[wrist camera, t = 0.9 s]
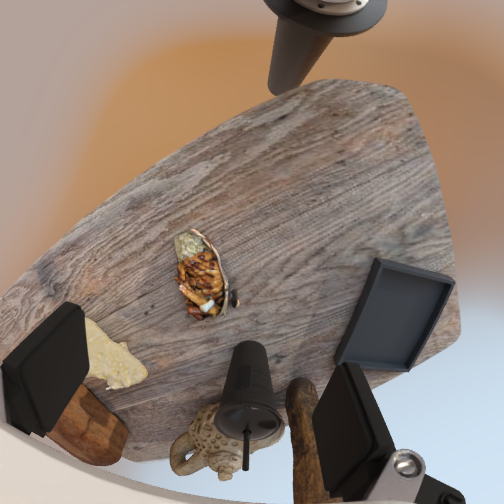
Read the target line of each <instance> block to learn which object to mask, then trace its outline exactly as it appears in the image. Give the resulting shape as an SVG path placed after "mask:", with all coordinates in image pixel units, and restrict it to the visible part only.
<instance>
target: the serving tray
mask: <svg viewBox="0 0 504 504" xmlns="http://www.w3.org/2000/svg"><path fill="white" fill-rule="evenodd" d="M454 285H455V281H454V280H453V279H452V278H451V277H449V276H446V275H442V274H439V273H435V272H431V271H427V270H424V269H420V268H416V267H412V266H408V265H405V264H401V263H397V262H393V261H389V260H385V259H381V258H377V257H376V258H375V260H374V263H373V266H372V269H371V271H370V274H369V277H368V279H367V282H366V284H365V287H364V290H363V292H362V295H361V297H360V300H359V302H358V304H357V307H356V309H355V312H354V314H353V316H352V319H351V321H350V323H349V326H348V328H347V330H346V332H345V335H344V337H343V339H342V341H341V343H340V346H339V348H338V350H337V352H336V354H335V356H334V358H333V359H334V362H335V365H336V366H337V365H341V363H342V362H354V363H359V365H360V367H361V369H363V370H377V371H394V372H409V371H410V369H411V368H412V366H413V365H414V363H415V361H416V360H417V358H418V356H419V355H420V353H421V351H422V349H423V348H424V346H425V344H426V342H427V340H428V339H429V337H430V335H431V333H432V331H433V329H434V327H435V325H436V323H437V321H438V319H439V317H440V315H441V313H442V311H443V309H444V307H445V305H446V303H447V301H448V298H449V296H450V294H451V292H452V289H453V287H454Z"/></svg>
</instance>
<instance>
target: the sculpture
mask: <svg viewBox="0 0 504 504" xmlns="http://www.w3.org/2000/svg"><path fill="white" fill-rule="evenodd" d="M318 402H319V399H318V395H317V391H316V388H315V385H314V384H313V383H312V381H310V380H308V379H305V378H302V377H301V378H296V379H294V380H292V381H291V383H290V384H289V386H288V388H287V392H286V401H285V407H286V412H287V415H288V421H289V427H290V430H291V433H290V434H291V443H292V448H293V498H294V504H327V503H342V502H343V498H342V497H340V498H330V496H329V491H325V489H324V484H323V479H322V473H321V468H320V462H319V457H318V451H317V446H316V441H315V435H314V430H313V425H312V414H313V411H314V409H315V408H316V406H317V404H318Z"/></svg>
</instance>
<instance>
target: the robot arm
mask: <svg viewBox="0 0 504 504" xmlns="http://www.w3.org/2000/svg"><path fill="white" fill-rule="evenodd" d="M294 1H295V2H297V3H298V4H300V5H302V6H303V7H305V8H307V9H310V10H312V11H315V12H318V13H321V14H327V15H336V16H340V15H348V14H352V13H355V12H357V11H359V10H361V9H362V8H363V7H364V6H365V5H366V4H367V2H368V1H369V0H294ZM319 7H320V8H319ZM89 369H90V363H89V355H88V347H87V337H86V326H85V314H84V311H82V310H81V307H80V306H79V305H77V304H74V303H71V302H68V301H66V302H64V303H63V304H62V305H61V306H60V307H59V308H58V309H56V310H55V311H54V312H53V313H52V314H51V315H50V316H49V317H48V318H47V319H45V320H44V321H43V322H42V323H41V324H40V325H39V326H38V327H37V328H36V329H35V330H34V331H33V332H32V333H31V334H29V335H28V336H27V337H26V338H25V339H24V340H23V341H22V342H21V343H20V344H19V345H18V346H17V347H16V348H15V349H14V350H13V351H12V352H11V353H10V354H9V355H8V356H7V357H6V358H5V359H4V360H3V364H2V365H1V366H0V504H265V503H249V502H239V501H229V500H222V499H214V498H208V497H202V496H196V495H191V494H186V493H181V492H176V491H172V490H168V489H163V488H159V487H156V486H152V485H148V484H144V483H141V482H138V481H134V480H131V479H128V478H125V477H122V476H118V475H116V474H113V473H110V472H107V471H105V470H102V469H99V468H97V467H94V466H92V465H89V464H87V463H84V462H82V461H80V460H77V459H75V458H73V457H71V456H68V455H66V454H64V453H62V452H60V451H58V450H56V449H54V448H52V447H50V446H48V445H46V444H44V443H42V442H40V441H38V440H36V439H34V438H32V437H30V436H29V435H30V434H31V432H33V433H35V434H37V435H39V436H41V437H42V438H44V436H45V434H46V433H47V432H48V433H50V432H51V431H52V430H53V428H54V426H55V425H56V423H57V421H58V420H59V418H60V416H61V415H62V413H63V412H64V410H65V408H66V407H67V405H68V404H69V402H70V400H71V399H72V397H73V396H74V394H75V393H76V391H77V389H78V388H79V386H80V385H81V383H82V382H83V380H84V379H85V377H86V376H87V374H88V372H89ZM312 425H313V430H314V435H315V441H316V446H317V451H318V457H319V462H320V468H321V473H322V479H323V484H324V489H325V491H329V496H330V498H340V497H342V498H343V502H342V503H327V504H466V502H465V498H464V496H463V495H462V494H461V492H460V491H458V490H456V489H454V488H452V487H450V486H448V485H446V484H444V483H442V482H440V481H438V480H436V479H434V478H432V477H430V476H428V475H427V474H425V470H426V466H425V462H424V460H423V458H422V457H421V456H420V455H419V454H417V453H416V452H414V451H412V450H409V449H400V450H397V451H396V448H395V446H394V442H393V440H392V437H391V435H390V433H389V430H388V428H387V426H386V423H385V421H384V418H383V416H382V414H381V411H380V409H379V407H378V405H377V402H376V400H375V398H374V396H373V394H372V391H371V389H370V387H369V384H368V382H367V380H366V378H365V375H364V373H363V371H362V369H361V367H360V365H359V363H354V362H342V363H341V365H337V366H336V368H335V370H334V372H333V374H332V376H331V378H330V380H329V382H328V384H327V386H326V388H325V390H324V392H323V394H322V396H321V398H320V400H319V402H318V404H317V406H316V408H315V409H314V411H313V414H312Z"/></svg>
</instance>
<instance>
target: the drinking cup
mask: <svg viewBox="0 0 504 504" xmlns="http://www.w3.org/2000/svg"><path fill="white" fill-rule="evenodd" d="M214 425H215V427H216V429H217V430H218V431H219V432H220V433H221V434H223V435H224V436H226V437H229V438H231V439H234V440H239V441H243V461H242V470H243V471H248V470H249V448H250V441H258V440H262V439H266V438H268V437H270V436H272V435H273V434H275V433H276V432H277V431H278V429H279V428H280V425H281V418H280V415H279V414H278V412H277V409H276V403H275V398H274V393H273V387H272V382H271V376H270V371H269V365H268V360H267V354H266V350H265V348H264V346H263V345H261V344H260V343H258V342H255V341H244V342H241V343H239V344H238V345H237V346H236V347H235V349H234V352H233V356H232V360H231V363H230V367H229V371H228V375H227V379H226V383H225V386H224V390H223V394H222V398H221V401H220V405H219V409H218V410H217V412H216V413H215V416H214Z"/></svg>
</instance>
